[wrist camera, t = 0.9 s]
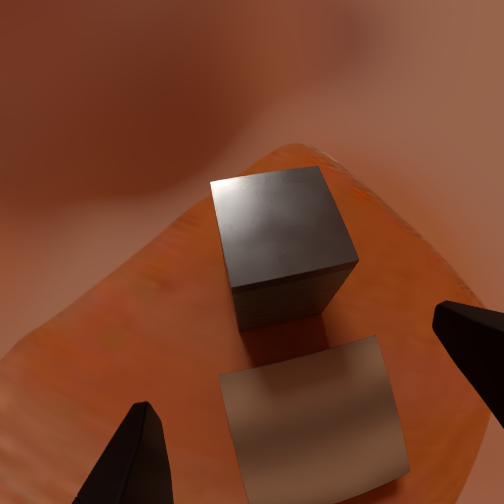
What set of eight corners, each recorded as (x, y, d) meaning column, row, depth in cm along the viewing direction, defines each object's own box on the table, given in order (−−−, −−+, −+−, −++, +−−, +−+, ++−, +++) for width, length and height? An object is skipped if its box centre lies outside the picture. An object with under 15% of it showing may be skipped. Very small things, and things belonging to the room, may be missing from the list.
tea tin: (321, 313, 23) (359, 259, 15) (239, 332, 22) (231, 287, 14) (298, 242, 26) (317, 165, 18) (223, 256, 25) (210, 182, 17)
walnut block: (392, 465, 17) (410, 471, 14) (255, 509, 16) (255, 523, 13) (361, 342, 22) (375, 334, 19) (222, 378, 21) (218, 374, 18)
